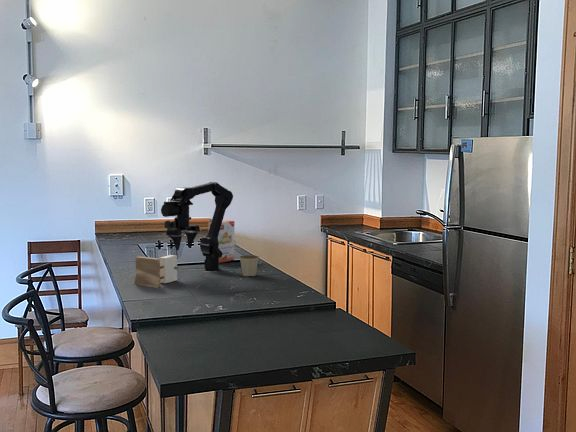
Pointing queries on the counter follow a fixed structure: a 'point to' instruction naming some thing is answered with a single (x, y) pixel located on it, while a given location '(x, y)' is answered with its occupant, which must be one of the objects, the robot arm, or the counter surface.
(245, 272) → the flower pot
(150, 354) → the counter surface
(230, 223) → the cracker box
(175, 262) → the door panel
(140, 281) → the cabinet corner
